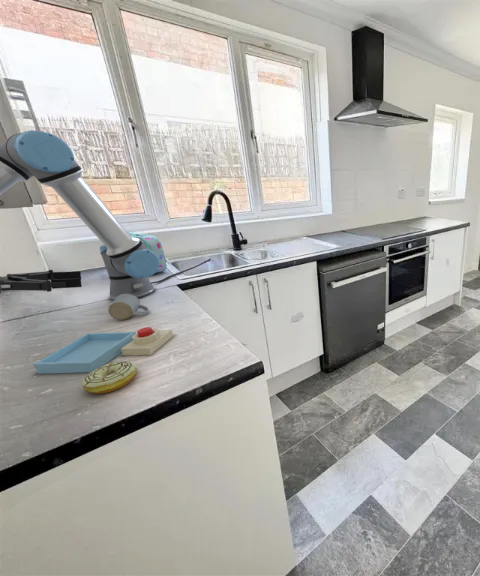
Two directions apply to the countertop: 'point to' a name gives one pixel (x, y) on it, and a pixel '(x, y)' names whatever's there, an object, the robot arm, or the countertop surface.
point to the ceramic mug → (126, 307)
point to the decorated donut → (109, 377)
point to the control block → (147, 343)
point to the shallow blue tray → (85, 353)
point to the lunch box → (152, 247)
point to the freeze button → (145, 332)
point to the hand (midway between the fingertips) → (81, 278)
